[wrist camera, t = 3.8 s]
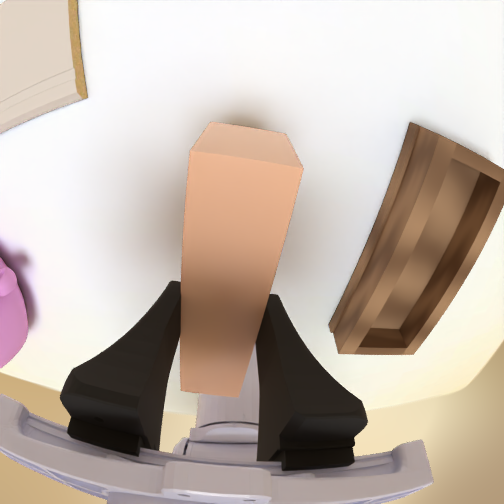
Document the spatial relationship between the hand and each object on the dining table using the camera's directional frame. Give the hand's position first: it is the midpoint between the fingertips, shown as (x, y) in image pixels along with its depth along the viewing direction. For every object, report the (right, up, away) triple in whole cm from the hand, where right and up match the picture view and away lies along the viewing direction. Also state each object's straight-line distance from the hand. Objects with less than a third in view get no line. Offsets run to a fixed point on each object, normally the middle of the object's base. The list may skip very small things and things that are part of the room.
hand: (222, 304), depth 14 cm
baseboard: (-26, +21, -5) cm, 34 cm away
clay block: (0, +2, +3) cm, 4 cm away
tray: (+15, +3, +9) cm, 17 cm away
